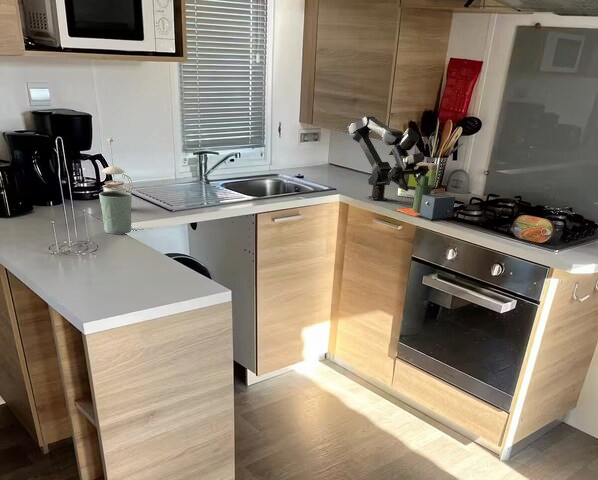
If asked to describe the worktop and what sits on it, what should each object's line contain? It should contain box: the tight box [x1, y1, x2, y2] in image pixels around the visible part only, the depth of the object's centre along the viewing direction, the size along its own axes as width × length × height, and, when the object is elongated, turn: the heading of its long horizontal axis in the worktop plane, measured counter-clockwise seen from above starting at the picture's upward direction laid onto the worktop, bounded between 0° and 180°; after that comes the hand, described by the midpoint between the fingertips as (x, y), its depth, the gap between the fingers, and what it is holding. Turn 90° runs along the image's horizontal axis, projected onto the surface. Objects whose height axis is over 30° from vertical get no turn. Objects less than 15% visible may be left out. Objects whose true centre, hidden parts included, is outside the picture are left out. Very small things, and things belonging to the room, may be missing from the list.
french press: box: [101, 137, 133, 193], centre depth 223 cm, size 10×12×25 cm
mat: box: [396, 207, 420, 217], centre depth 251 cm, size 12×14×1 cm
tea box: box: [397, 161, 439, 199], centre depth 278 cm, size 15×10×15 cm, turn 65°
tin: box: [512, 214, 556, 244], centre depth 217 cm, size 15×3×8 cm, turn 45°
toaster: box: [418, 192, 456, 222], centre depth 242 cm, size 8×12×9 cm, turn 122°
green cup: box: [98, 191, 133, 235], centre depth 198 cm, size 10×10×12 cm
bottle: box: [412, 176, 432, 213], centre depth 247 cm, size 6×6×14 cm
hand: (415, 190), depth 250 cm, fingers open, 9 cm apart
